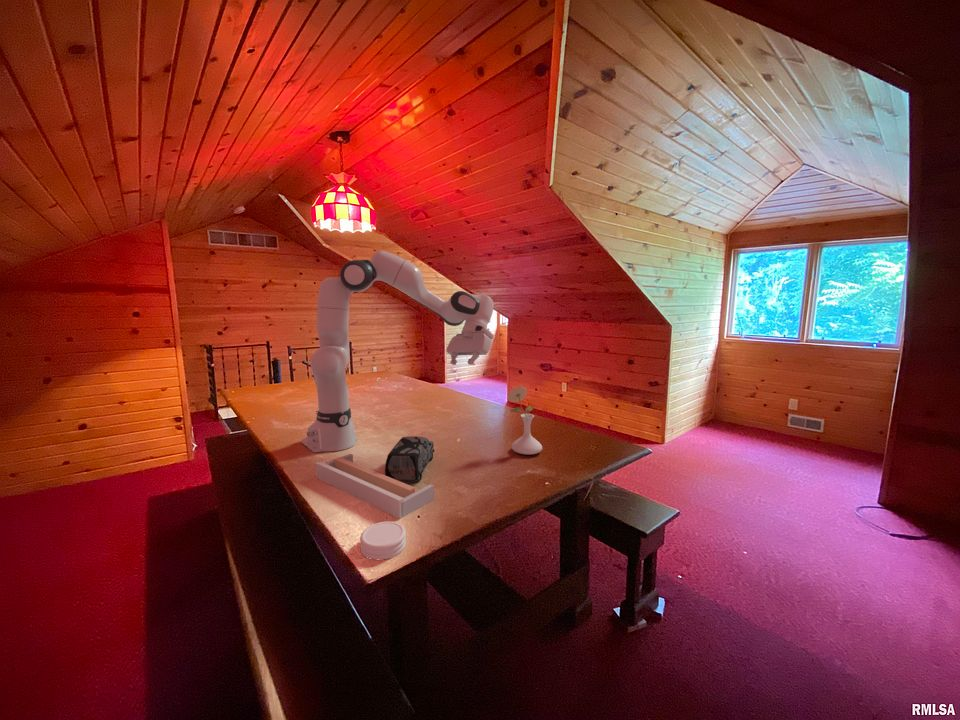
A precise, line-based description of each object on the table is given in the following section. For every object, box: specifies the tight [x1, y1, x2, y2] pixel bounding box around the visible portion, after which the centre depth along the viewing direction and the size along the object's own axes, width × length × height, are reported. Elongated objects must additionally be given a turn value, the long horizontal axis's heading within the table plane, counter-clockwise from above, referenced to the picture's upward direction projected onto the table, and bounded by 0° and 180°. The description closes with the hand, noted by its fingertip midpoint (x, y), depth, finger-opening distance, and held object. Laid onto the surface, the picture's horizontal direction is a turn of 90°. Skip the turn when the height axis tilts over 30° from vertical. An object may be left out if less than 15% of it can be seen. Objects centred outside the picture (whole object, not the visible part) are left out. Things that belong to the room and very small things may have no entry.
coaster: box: [359, 521, 407, 561], centre depth 87 cm, size 10×10×4 cm
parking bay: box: [314, 453, 435, 520], centre depth 114 cm, size 39×12×5 cm, turn 53°
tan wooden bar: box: [333, 456, 416, 498], centre depth 114 cm, size 35×2×5 cm, turn 53°
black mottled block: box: [384, 435, 435, 484], centre depth 127 cm, size 11×25×10 cm, turn 175°
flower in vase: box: [507, 385, 543, 456], centre depth 141 cm, size 13×11×25 cm
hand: (461, 364), depth 145 cm, fingers open, 8 cm apart
